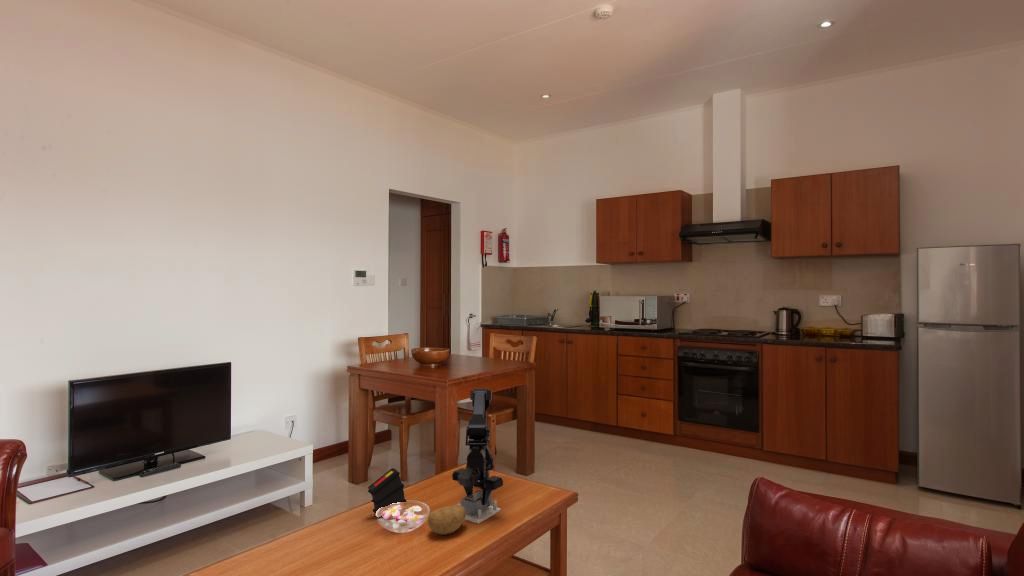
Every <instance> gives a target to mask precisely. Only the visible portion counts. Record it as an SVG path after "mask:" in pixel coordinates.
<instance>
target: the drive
mask: <svg viewBox="0 0 1024 576" xmlns="http://www.w3.org/2000/svg"><path fill="white" fill-rule="evenodd" d="M460 501H461V506H463V507H464V508H465V511H466V512H468V513H472V514H477V513H478V509H481V511H482V510H484V509H485V508H487V507H489V506H493V493H492V492H491V493H490V496H489V498H488V500H487V503H486V505H483V491H482V490H481V489H478V490H476V491H474V492H473V493H472V494H470V495H468V496H467V495H466V496H464V497H463V498H461V499H460Z"/></svg>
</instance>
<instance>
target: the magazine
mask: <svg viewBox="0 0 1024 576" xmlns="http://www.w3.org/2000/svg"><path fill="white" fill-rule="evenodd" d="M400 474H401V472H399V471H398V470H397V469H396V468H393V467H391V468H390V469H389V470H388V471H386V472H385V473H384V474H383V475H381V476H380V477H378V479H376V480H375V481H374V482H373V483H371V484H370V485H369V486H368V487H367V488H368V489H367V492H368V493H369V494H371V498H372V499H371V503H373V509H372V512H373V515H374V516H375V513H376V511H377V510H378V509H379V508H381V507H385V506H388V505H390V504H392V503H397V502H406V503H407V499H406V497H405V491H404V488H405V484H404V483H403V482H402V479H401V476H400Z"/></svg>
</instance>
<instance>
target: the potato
mask: <svg viewBox="0 0 1024 576" xmlns="http://www.w3.org/2000/svg"><path fill="white" fill-rule="evenodd" d="M465 516H466V511H465V508H464V507H463V506H461V505H457V504H451V505H448V506H444V507H441V508H438V509H435V510H433V511H432V512H429V515H428V517H427V525H428V527H429V529H430V530H431V531H432V532H433V533H435V534H438V535H442V536H443V535H450V534H453V533H455V531H457V530H458V529H460V527H461V526H462V525H463V522H464V521H465Z"/></svg>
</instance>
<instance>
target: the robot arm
mask: <svg viewBox="0 0 1024 576" xmlns="http://www.w3.org/2000/svg"><path fill="white" fill-rule="evenodd" d="M469 393H470V395H469V401H471V404H472V407H473V408H472V409H473V410H472V416H471V418H469V419H468V425H466V428H465V430H466V431H465V446H467V447H469V448H468V449H469V450H468V453H467V456H466V467H465V468H462V467H461V468H459V469H456V470H455V471H453V472H452V476H451V480H453V481H455V482H457V483H458V484H459V485H460V486H461V487H463V489H464V491H465V495H466V496H468V495H470V494H472V493H474V492H473V490H474V486H475V487H476V486H477V487H480V490H481V491H483V505H486V503H487V500H488V498H489V496H490V493H492V492H493V491H496V490H498V489H499V488H500V487H503V486H504V479H503V478H502V477H501V476H497V475H492V476H490V471H492V470H494V469H495V468H494V467H495V466H494V463H495V462H494V460H495V459H494V458H493V455H492V454H491V449H490V447H489V445H488V444H489V443H490V440H491V439H490V436H491V434H490V432H491V431H490V428H489V426H488V425H487V412H488V411H487V410H488V409H489V408H490V405H491V401H492V400H493V398H492V397H493V392H492V390H490V389H489V388H479V387H478V388H476V387H475V388H473V390H470V392H469Z"/></svg>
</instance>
